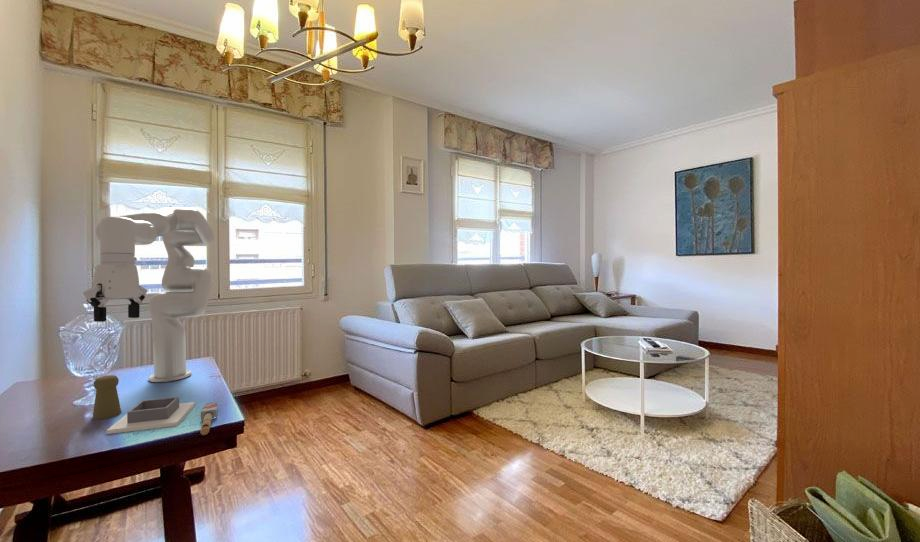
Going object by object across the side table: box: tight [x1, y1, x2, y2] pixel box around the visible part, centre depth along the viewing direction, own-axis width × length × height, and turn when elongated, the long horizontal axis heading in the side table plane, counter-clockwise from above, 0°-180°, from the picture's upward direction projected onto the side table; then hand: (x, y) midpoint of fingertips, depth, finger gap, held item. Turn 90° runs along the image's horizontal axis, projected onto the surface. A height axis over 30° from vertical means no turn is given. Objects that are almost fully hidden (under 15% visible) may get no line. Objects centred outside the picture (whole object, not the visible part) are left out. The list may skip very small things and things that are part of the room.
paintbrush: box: [199, 401, 219, 436], centre depth 106 cm, size 4×3×20 cm
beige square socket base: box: [105, 396, 196, 435], centre depth 107 cm, size 15×15×4 cm
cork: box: [92, 374, 122, 421], centre depth 109 cm, size 6×6×11 cm
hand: (117, 319), depth 112 cm, fingers open, 9 cm apart
